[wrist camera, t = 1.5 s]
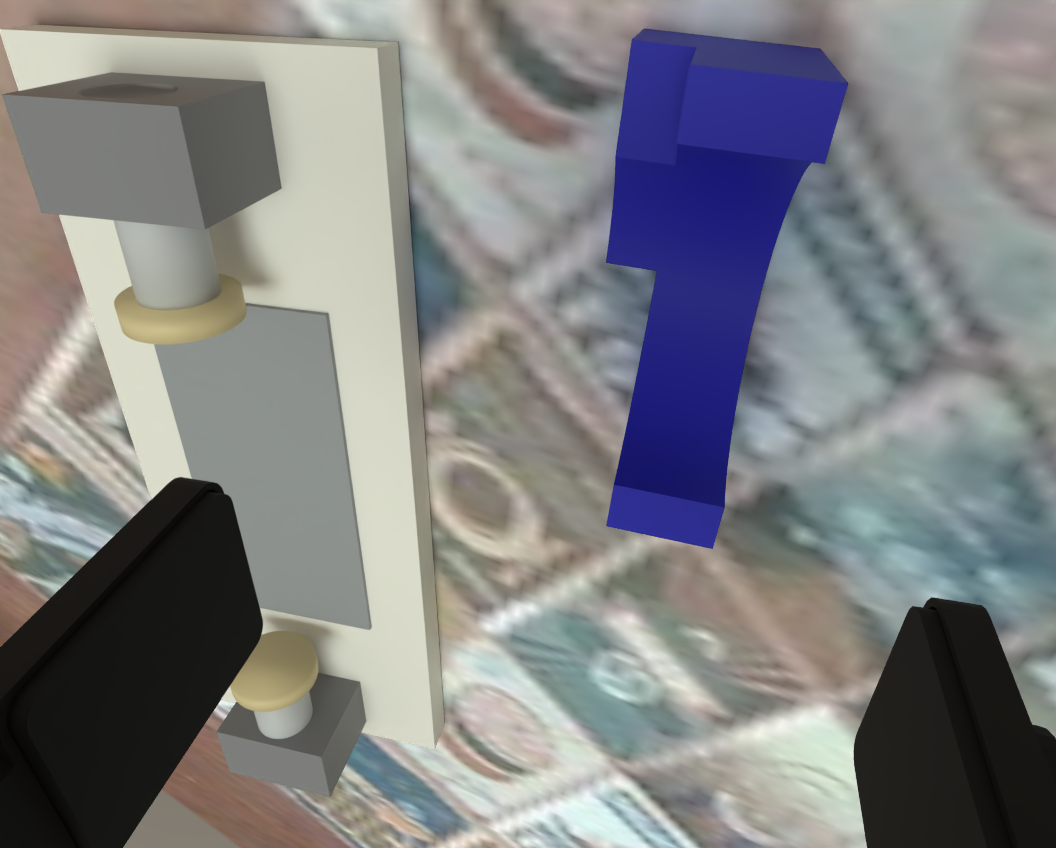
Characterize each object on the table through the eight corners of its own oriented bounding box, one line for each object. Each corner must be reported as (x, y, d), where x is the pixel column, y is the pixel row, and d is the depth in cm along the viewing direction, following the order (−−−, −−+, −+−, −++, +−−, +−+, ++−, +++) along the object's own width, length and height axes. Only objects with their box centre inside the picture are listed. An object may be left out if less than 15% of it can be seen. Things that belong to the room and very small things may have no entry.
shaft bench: (397, 42, 21) (300, 70, 17) (444, 723, 38) (402, 834, 33) (37, 25, 23) (-141, 44, 19) (232, 675, 40) (164, 773, 36)
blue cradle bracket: (645, 27, 20) (614, 55, 15) (819, 48, 19) (848, 83, 14) (588, 409, 26) (554, 515, 22) (717, 433, 26) (712, 548, 21)
